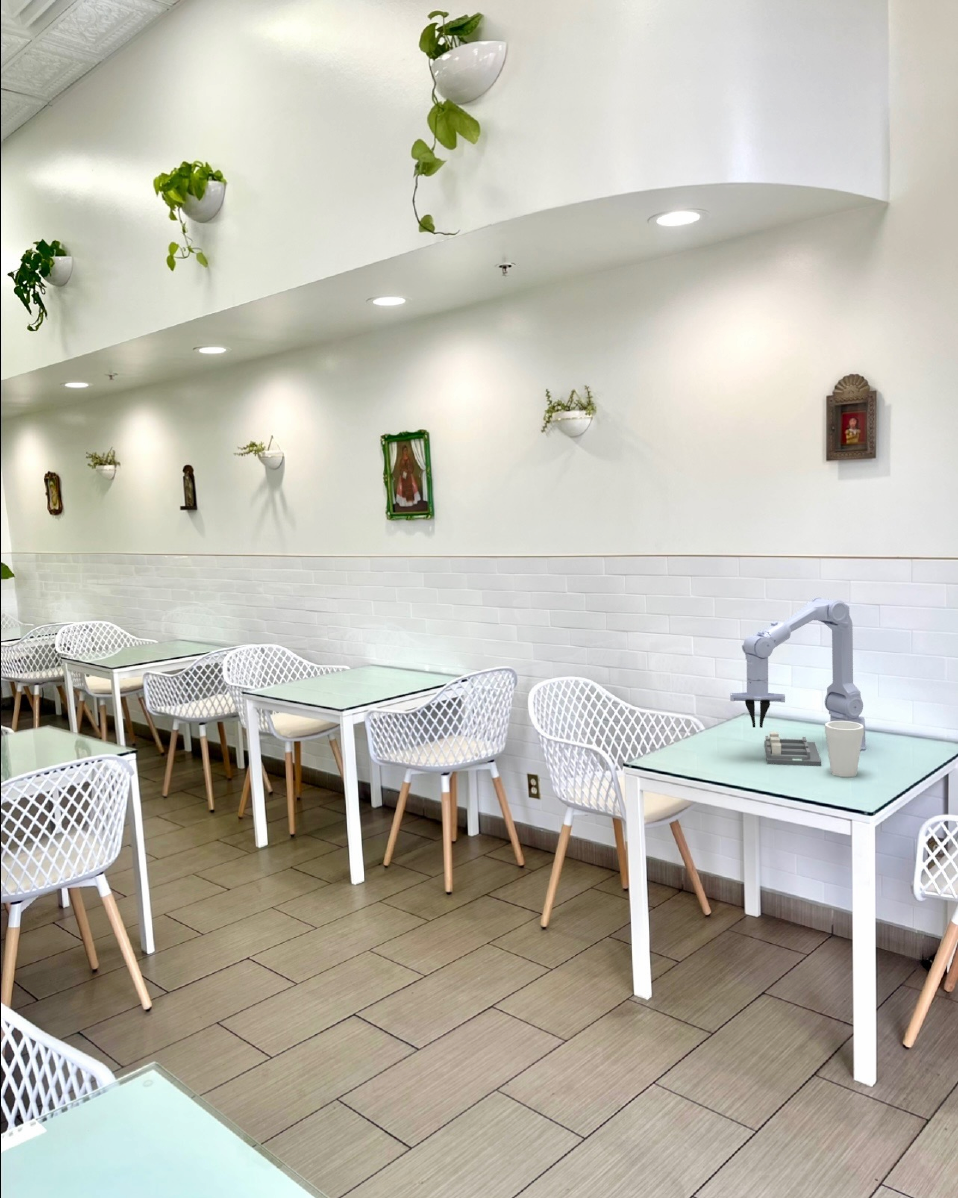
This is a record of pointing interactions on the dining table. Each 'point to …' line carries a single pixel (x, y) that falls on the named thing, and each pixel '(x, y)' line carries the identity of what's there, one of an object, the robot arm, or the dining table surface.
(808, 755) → the switch bank
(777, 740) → the tab
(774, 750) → the tab
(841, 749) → the foam cup
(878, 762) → the dining table surface
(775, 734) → the tab
